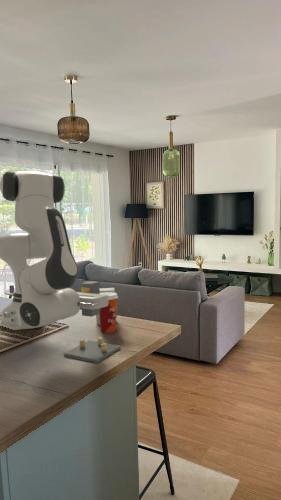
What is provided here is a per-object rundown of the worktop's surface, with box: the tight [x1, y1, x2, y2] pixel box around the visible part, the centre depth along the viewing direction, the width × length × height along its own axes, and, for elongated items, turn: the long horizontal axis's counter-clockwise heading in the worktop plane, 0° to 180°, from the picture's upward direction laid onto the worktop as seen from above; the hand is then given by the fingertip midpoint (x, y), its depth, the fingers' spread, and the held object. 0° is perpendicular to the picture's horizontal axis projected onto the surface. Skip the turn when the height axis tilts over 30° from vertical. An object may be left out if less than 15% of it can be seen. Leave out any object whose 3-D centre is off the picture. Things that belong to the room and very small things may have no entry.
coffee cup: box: [99, 292, 119, 334], centre depth 145 cm, size 8×8×15 cm
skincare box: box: [95, 287, 118, 325], centre depth 157 cm, size 8×6×15 cm
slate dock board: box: [63, 336, 121, 364], centre depth 123 cm, size 13×14×4 cm
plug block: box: [80, 280, 101, 318], centre depth 124 cm, size 4×6×11 cm
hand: (92, 295), depth 125 cm, fingers closed on plug block, 4 cm apart
